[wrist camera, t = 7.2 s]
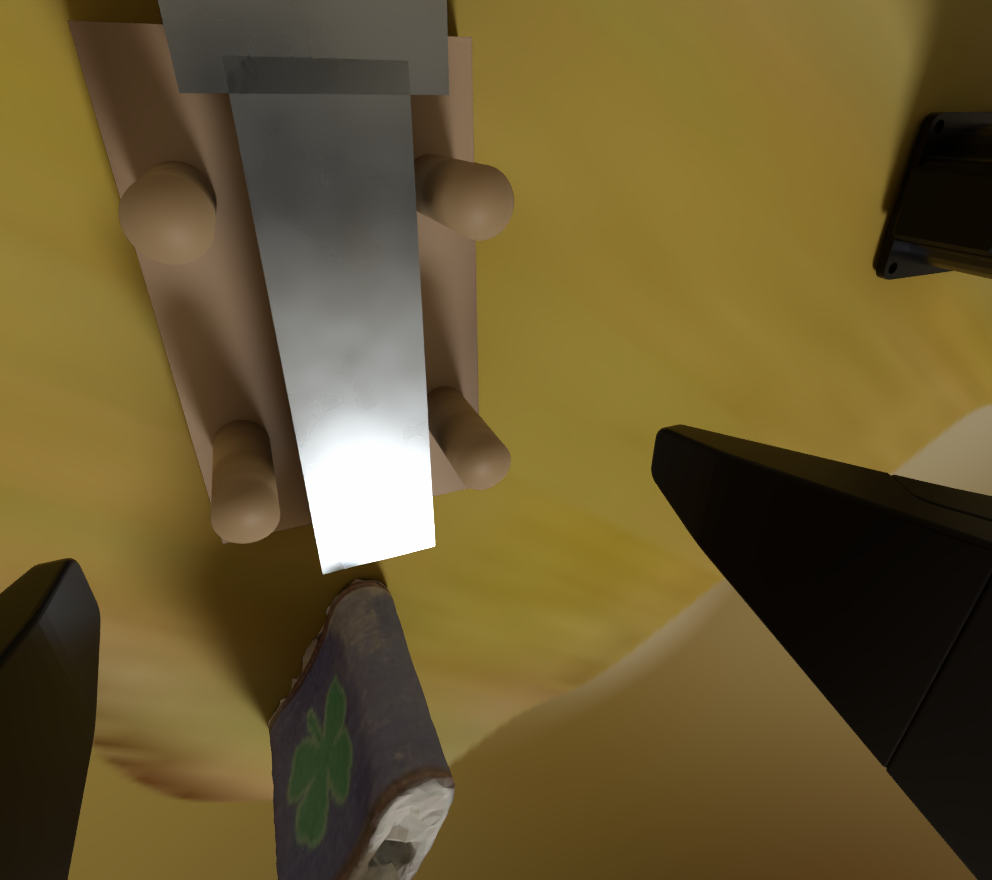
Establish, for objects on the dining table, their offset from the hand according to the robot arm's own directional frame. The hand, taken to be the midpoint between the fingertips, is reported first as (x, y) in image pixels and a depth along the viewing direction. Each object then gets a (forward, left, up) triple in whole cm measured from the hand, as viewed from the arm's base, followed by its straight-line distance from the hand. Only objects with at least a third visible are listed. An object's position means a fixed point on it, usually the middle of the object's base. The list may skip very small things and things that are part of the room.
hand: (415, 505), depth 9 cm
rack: (0, 0, -11) cm, 11 cm away
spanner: (0, -1, -10) cm, 10 cm away
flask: (+2, +15, -11) cm, 19 cm away
